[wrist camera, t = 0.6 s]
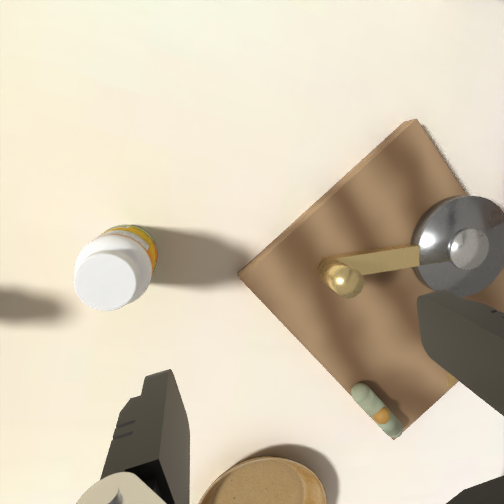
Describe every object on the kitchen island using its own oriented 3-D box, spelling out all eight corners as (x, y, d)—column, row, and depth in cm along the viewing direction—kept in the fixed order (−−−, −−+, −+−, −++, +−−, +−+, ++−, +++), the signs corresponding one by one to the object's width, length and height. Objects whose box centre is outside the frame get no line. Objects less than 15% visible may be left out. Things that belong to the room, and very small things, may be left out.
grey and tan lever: (500, 189, 36) (558, 192, 31) (496, 284, 39) (550, 303, 33) (306, 215, 33) (332, 223, 28) (314, 317, 35) (339, 344, 30)
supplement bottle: (137, 291, 34) (120, 335, 25) (84, 261, 33) (44, 296, 23) (169, 244, 34) (163, 271, 24) (117, 212, 32) (89, 226, 23)
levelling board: (404, 121, 36) (435, 114, 31) (523, 301, 43) (563, 316, 38) (237, 273, 36) (244, 287, 31) (384, 428, 43) (407, 457, 38)
